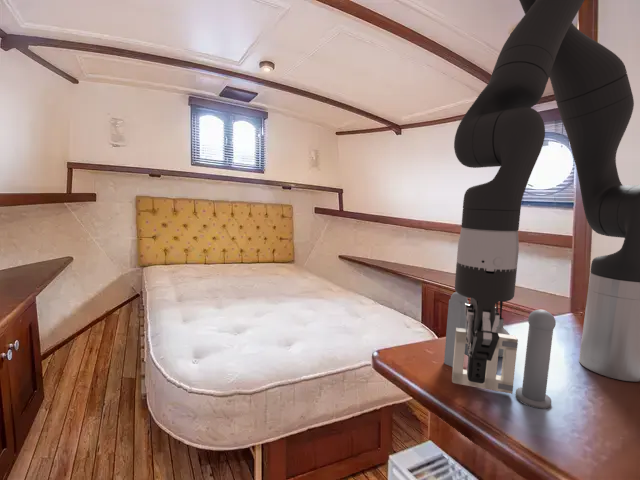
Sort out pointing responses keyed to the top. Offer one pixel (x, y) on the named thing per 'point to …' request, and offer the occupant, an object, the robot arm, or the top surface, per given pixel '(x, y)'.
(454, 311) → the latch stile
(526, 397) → the hinge post
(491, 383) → the gate
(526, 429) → the top surface
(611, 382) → the top surface
